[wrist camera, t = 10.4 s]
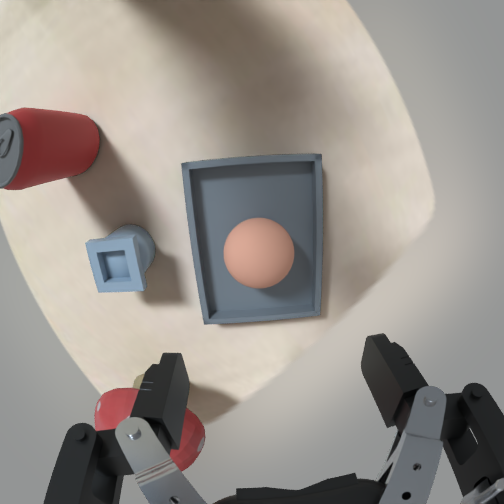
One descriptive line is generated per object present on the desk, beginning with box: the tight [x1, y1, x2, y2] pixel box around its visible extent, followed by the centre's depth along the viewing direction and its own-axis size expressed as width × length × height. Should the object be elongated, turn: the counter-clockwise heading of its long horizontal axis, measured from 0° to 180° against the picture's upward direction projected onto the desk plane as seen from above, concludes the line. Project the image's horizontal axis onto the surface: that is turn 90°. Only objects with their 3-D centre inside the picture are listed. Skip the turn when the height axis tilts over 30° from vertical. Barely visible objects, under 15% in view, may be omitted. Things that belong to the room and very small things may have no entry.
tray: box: [181, 154, 323, 324], centre depth 27 cm, size 16×12×2 cm
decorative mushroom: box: [95, 374, 205, 471], centre depth 27 cm, size 13×13×15 cm
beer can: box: [0, 108, 100, 190], centre depth 18 cm, size 7×7×12 cm
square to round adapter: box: [85, 224, 155, 292], centre depth 25 cm, size 5×5×5 cm
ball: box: [224, 218, 294, 288], centre depth 24 cm, size 6×6×6 cm
